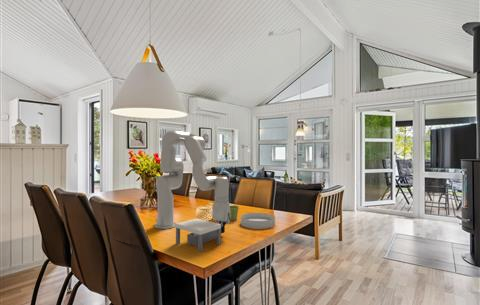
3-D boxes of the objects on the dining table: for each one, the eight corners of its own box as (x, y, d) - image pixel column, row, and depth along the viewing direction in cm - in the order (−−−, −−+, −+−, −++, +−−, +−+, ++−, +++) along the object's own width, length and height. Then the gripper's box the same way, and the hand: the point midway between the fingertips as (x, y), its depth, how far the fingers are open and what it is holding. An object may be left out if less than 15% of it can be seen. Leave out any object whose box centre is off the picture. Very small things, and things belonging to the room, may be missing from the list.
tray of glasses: (187, 243, 135) (187, 232, 135) (211, 234, 149) (211, 224, 149) (196, 246, 131) (196, 235, 131) (220, 236, 146) (220, 226, 146)
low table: (175, 243, 134) (175, 223, 134) (196, 236, 145) (196, 218, 145) (200, 252, 123) (200, 230, 123) (220, 244, 134) (221, 224, 134)
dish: (273, 230, 159) (273, 221, 159) (237, 228, 163) (237, 219, 163) (276, 221, 181) (276, 213, 181) (244, 219, 185) (244, 212, 185)
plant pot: (222, 219, 183) (222, 206, 183) (232, 217, 190) (232, 204, 190) (231, 221, 177) (231, 208, 177) (241, 219, 183) (242, 206, 183)
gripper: (207, 198, 149) (207, 231, 149) (227, 202, 139) (227, 237, 139) (216, 197, 155) (216, 228, 155) (236, 200, 145) (236, 233, 145)
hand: (221, 232), depth 147 cm, fingers closed
